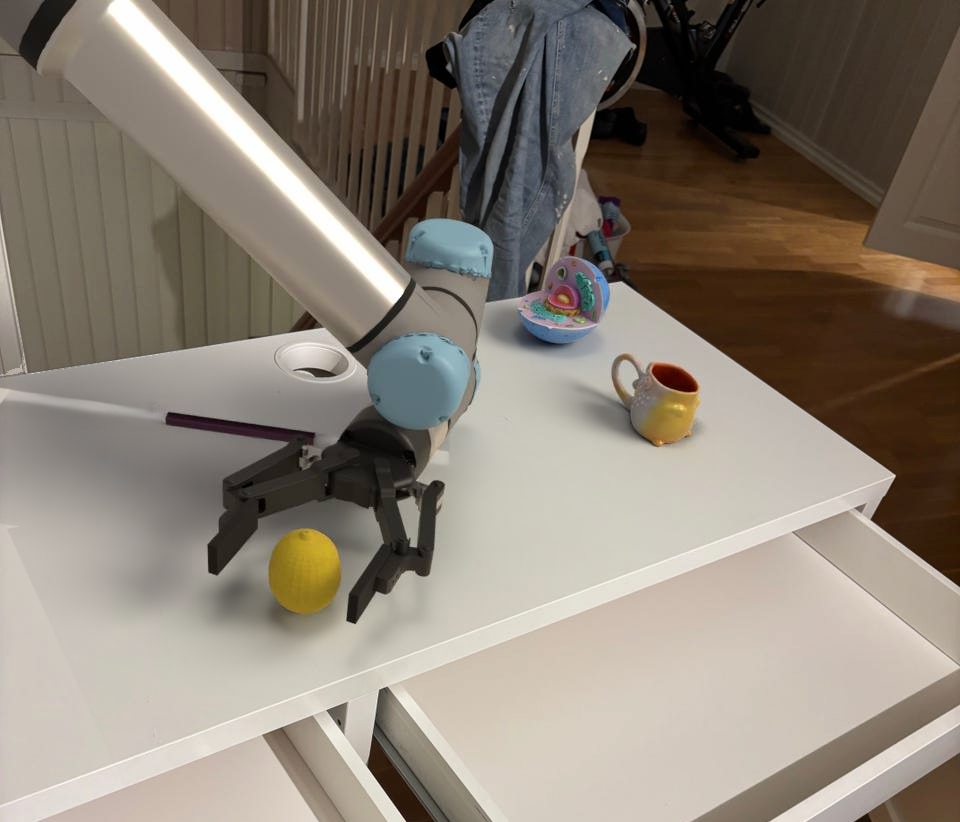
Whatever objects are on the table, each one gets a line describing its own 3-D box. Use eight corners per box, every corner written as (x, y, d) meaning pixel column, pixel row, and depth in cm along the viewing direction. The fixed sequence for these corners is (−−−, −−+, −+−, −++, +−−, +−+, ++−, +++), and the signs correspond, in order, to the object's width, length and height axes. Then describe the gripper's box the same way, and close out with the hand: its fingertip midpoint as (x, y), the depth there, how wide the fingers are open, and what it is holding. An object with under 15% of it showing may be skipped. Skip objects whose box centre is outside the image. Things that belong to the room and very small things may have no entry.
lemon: (318, 580, 81) (324, 503, 75) (349, 623, 78) (357, 545, 72) (256, 597, 78) (257, 518, 73) (285, 642, 75) (288, 563, 70)
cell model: (493, 329, 119) (507, 252, 112) (561, 311, 125) (579, 237, 119) (549, 367, 114) (567, 289, 107) (617, 347, 121) (638, 272, 114)
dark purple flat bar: (165, 424, 93) (165, 417, 92) (177, 397, 97) (176, 390, 96) (312, 445, 95) (313, 438, 94) (318, 418, 98) (319, 411, 98)
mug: (700, 440, 108) (720, 386, 103) (656, 453, 104) (675, 398, 100) (629, 386, 114) (645, 333, 110) (586, 396, 111) (600, 342, 106)
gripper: (506, 513, 88) (422, 671, 72) (274, 436, 91) (143, 573, 75) (522, 443, 83) (435, 597, 67) (276, 364, 86) (136, 494, 70)
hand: (281, 584), depth 71 cm, fingers open, 10 cm apart
